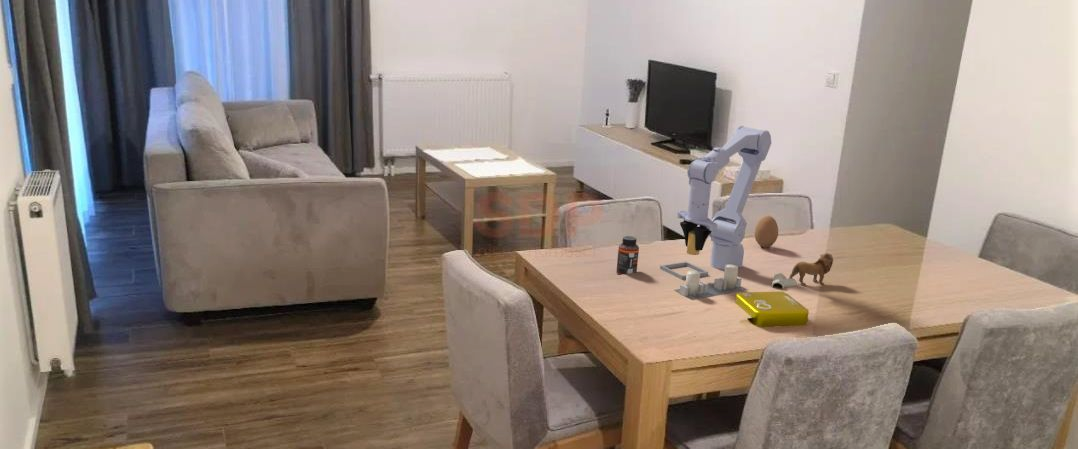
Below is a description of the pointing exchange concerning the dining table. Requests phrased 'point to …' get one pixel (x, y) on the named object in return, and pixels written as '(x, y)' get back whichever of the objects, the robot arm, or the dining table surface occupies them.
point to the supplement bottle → (627, 256)
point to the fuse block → (711, 289)
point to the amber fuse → (691, 244)
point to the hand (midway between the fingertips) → (693, 248)
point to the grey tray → (666, 267)
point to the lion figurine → (814, 268)
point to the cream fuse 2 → (731, 275)
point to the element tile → (772, 309)
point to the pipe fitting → (783, 281)
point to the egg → (766, 231)
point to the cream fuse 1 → (692, 282)
